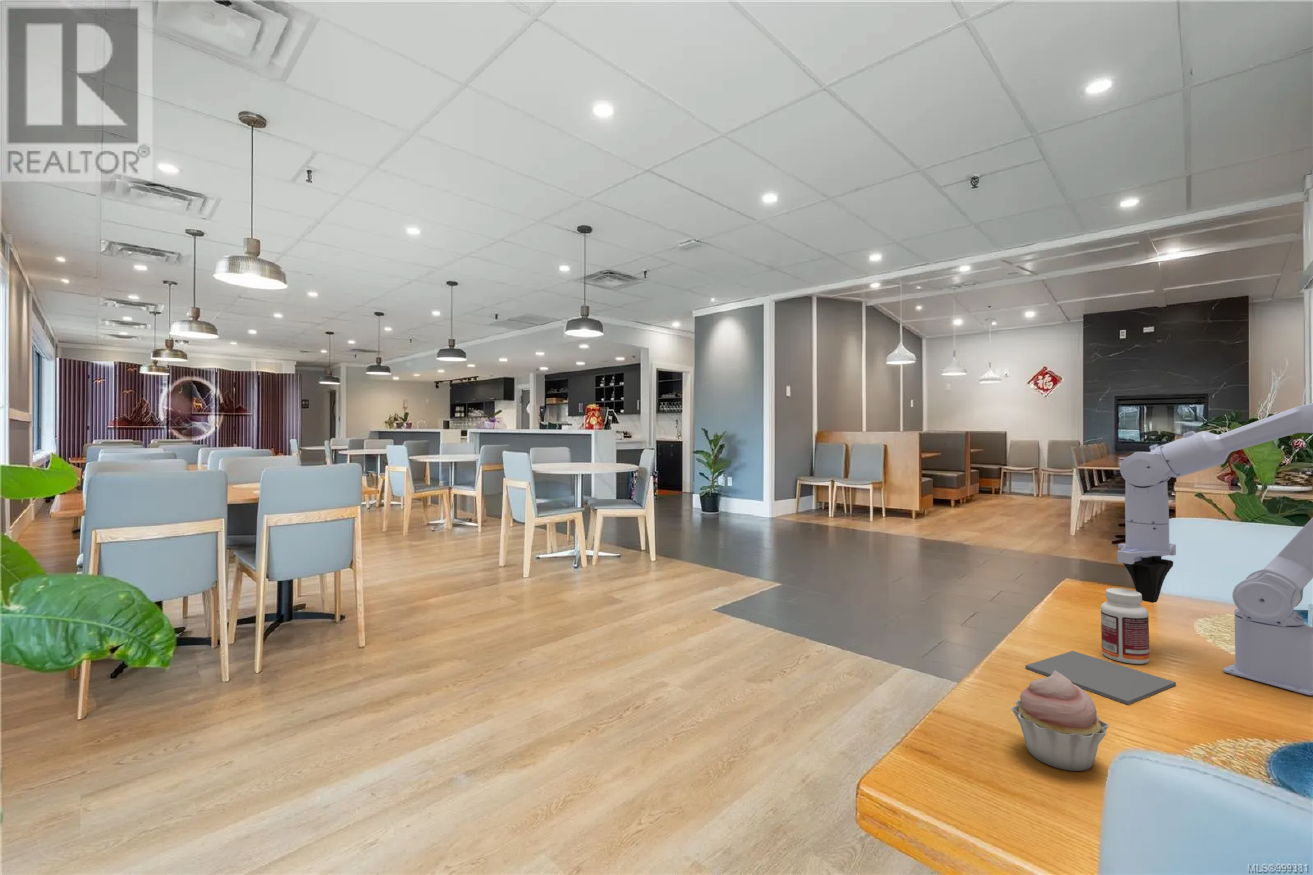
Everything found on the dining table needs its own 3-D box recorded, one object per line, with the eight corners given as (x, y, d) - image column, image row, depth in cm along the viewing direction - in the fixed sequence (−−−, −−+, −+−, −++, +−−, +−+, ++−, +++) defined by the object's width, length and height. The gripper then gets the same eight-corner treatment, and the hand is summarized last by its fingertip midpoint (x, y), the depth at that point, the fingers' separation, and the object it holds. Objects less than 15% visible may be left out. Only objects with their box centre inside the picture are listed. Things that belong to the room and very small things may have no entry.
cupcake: (1067, 734, 72) (1065, 654, 72) (1131, 778, 62) (1130, 687, 62) (994, 737, 72) (993, 657, 71) (1048, 782, 62) (1046, 690, 62)
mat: (1175, 685, 85) (1175, 682, 85) (1128, 704, 79) (1128, 701, 79) (1072, 653, 97) (1072, 650, 97) (1025, 668, 92) (1025, 665, 92)
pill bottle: (1152, 657, 95) (1150, 591, 95) (1147, 668, 91) (1146, 599, 91) (1104, 648, 99) (1103, 584, 99) (1098, 658, 95) (1097, 592, 95)
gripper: (1141, 515, 105) (1142, 589, 105) (1096, 522, 99) (1097, 600, 99) (1190, 520, 99) (1191, 599, 99) (1145, 528, 92) (1146, 611, 92)
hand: (1148, 600), depth 98 cm, fingers closed
